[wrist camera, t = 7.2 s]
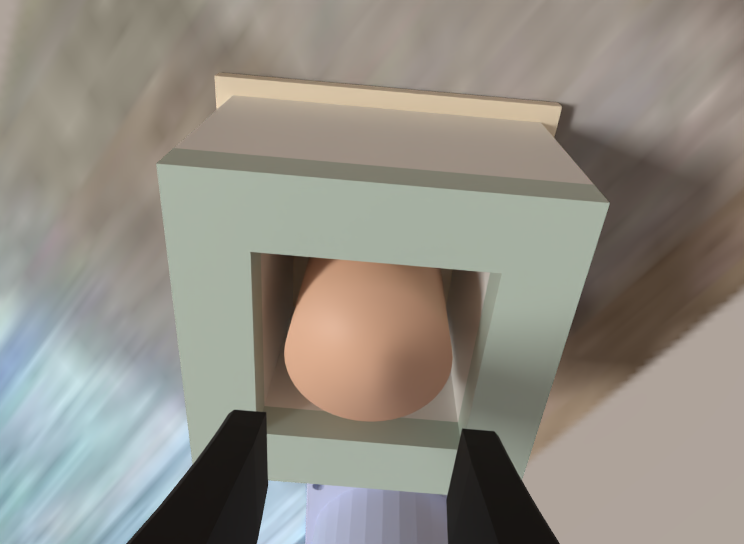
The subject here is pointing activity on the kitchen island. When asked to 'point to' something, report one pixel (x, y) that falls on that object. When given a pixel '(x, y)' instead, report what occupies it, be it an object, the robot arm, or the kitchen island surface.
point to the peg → (369, 338)
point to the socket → (379, 245)
